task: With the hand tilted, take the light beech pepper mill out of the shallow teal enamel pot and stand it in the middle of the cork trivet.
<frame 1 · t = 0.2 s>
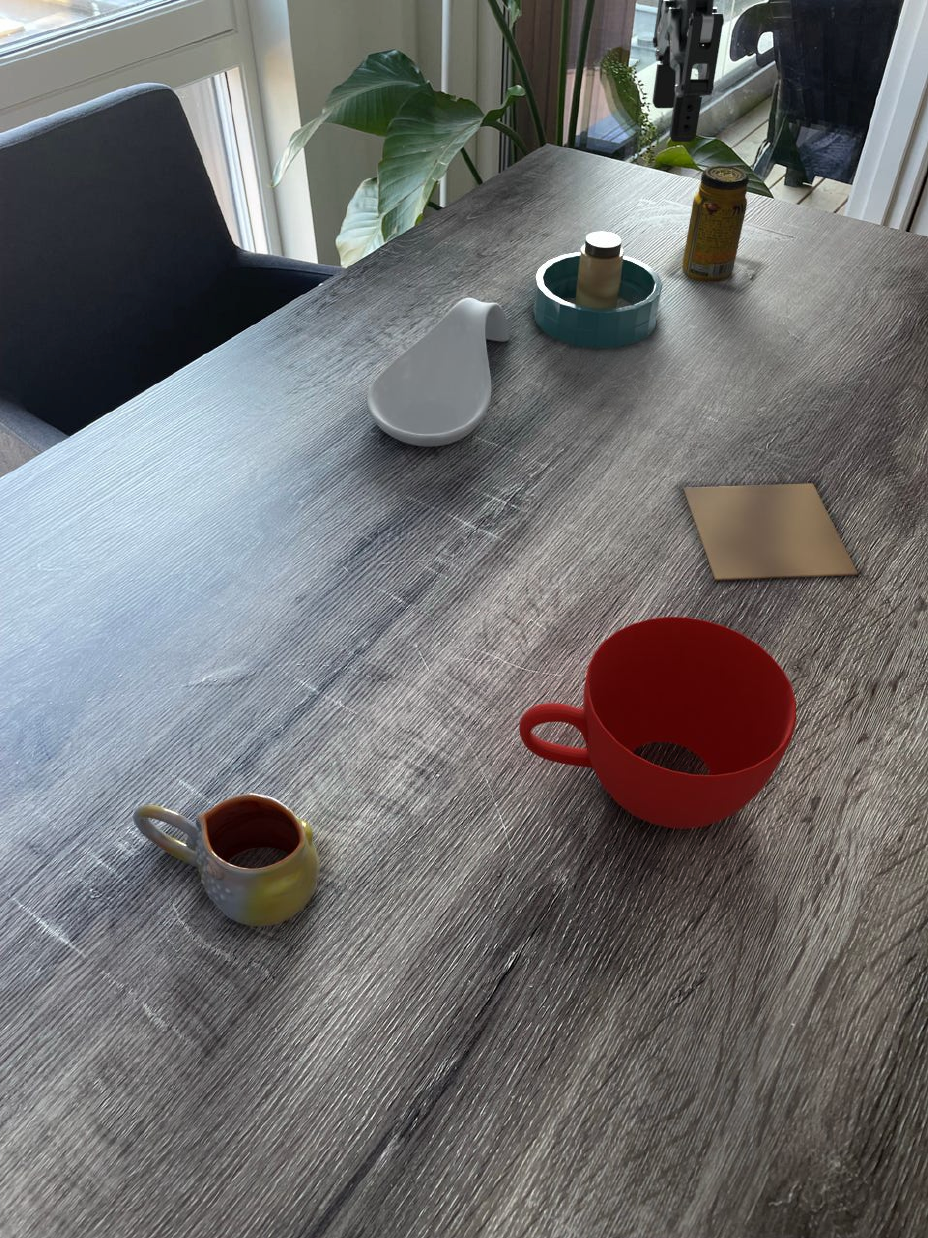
hand: (672, 122, 91), 23 cm above the table, tool pointing down, fingers open, 8 cm apart
spoon rest: (449, 398, 101), on the table
pot: (593, 322, 112), on the table
pepper mill: (594, 317, 111), point 1 cm above the table, touching pot
trivet: (764, 537, 87), on the table
condiment: (712, 278, 120), on the table
mug: (232, 874, 64), on the table
ceramic cup: (636, 787, 69), on the table
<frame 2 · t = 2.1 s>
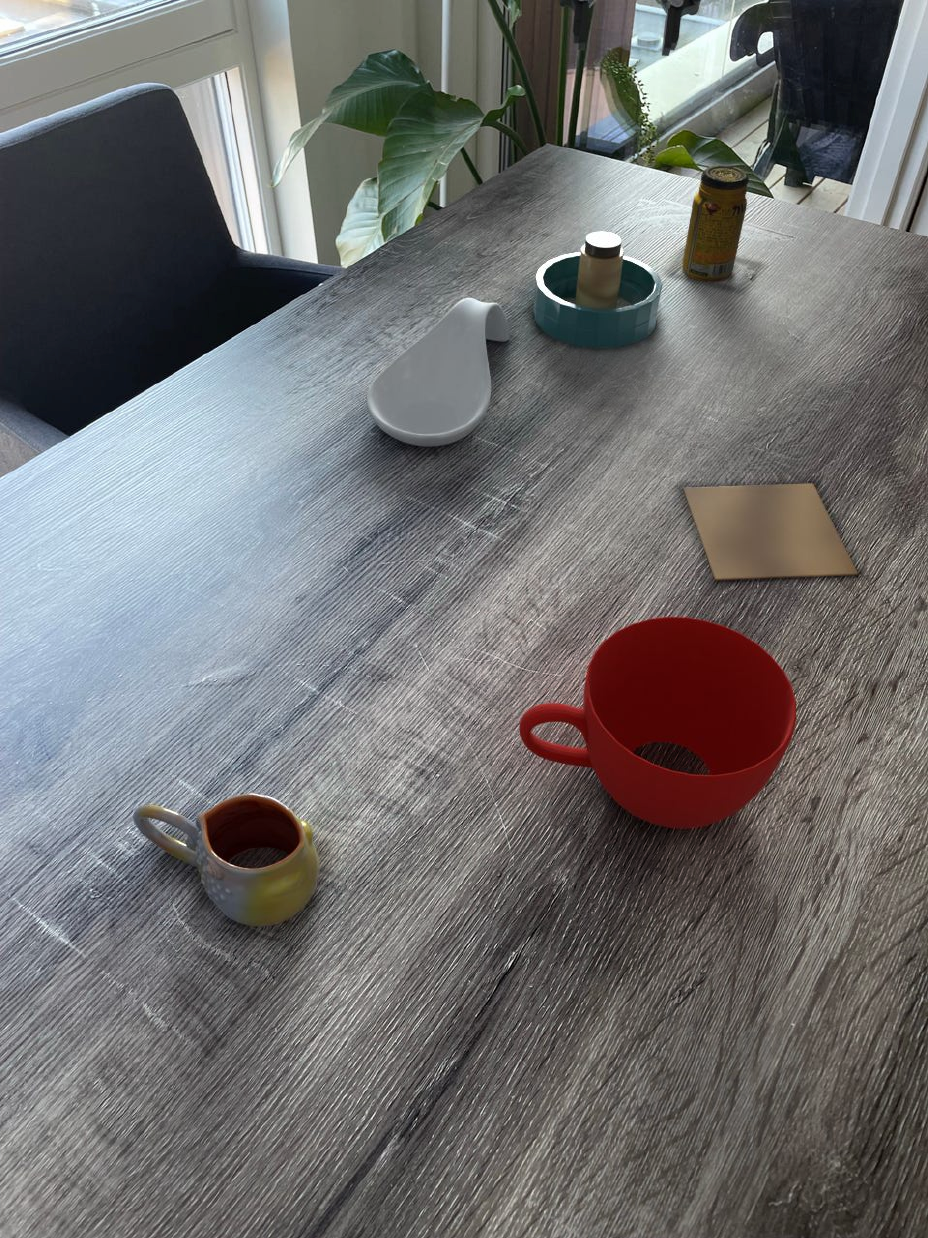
hand: (624, 48, 101), 25 cm above the table, tool tilted 45°, fingers open, 8 cm apart
nothing on the table moved.
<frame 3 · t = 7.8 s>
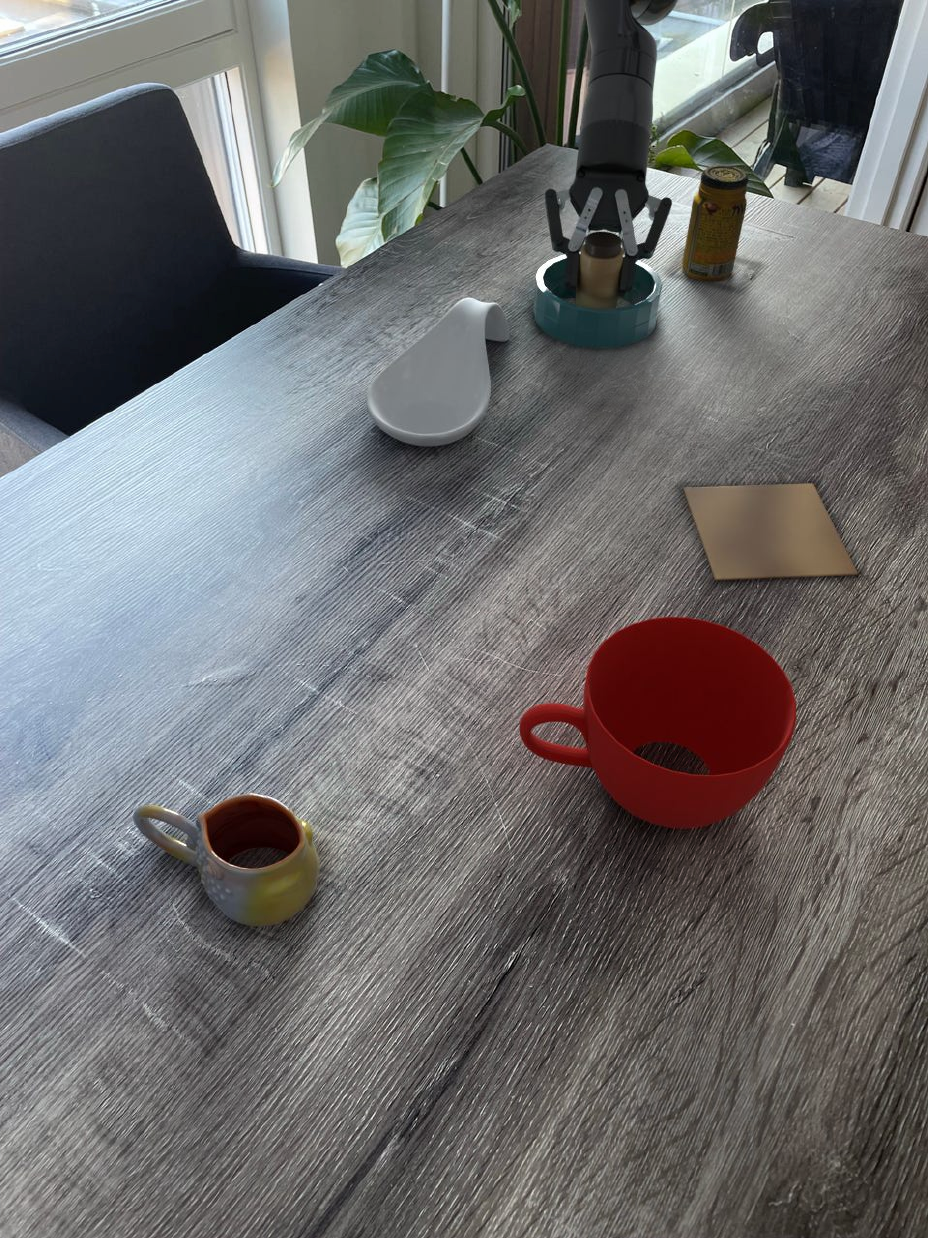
hand: (597, 292, 107), 5 cm above the table, tool tilted 45°, fingers closed on pepper mill, 4 cm apart
pepper mill: (594, 317, 111), point 1 cm above the table, touching gripper, pot
everything else where it was.
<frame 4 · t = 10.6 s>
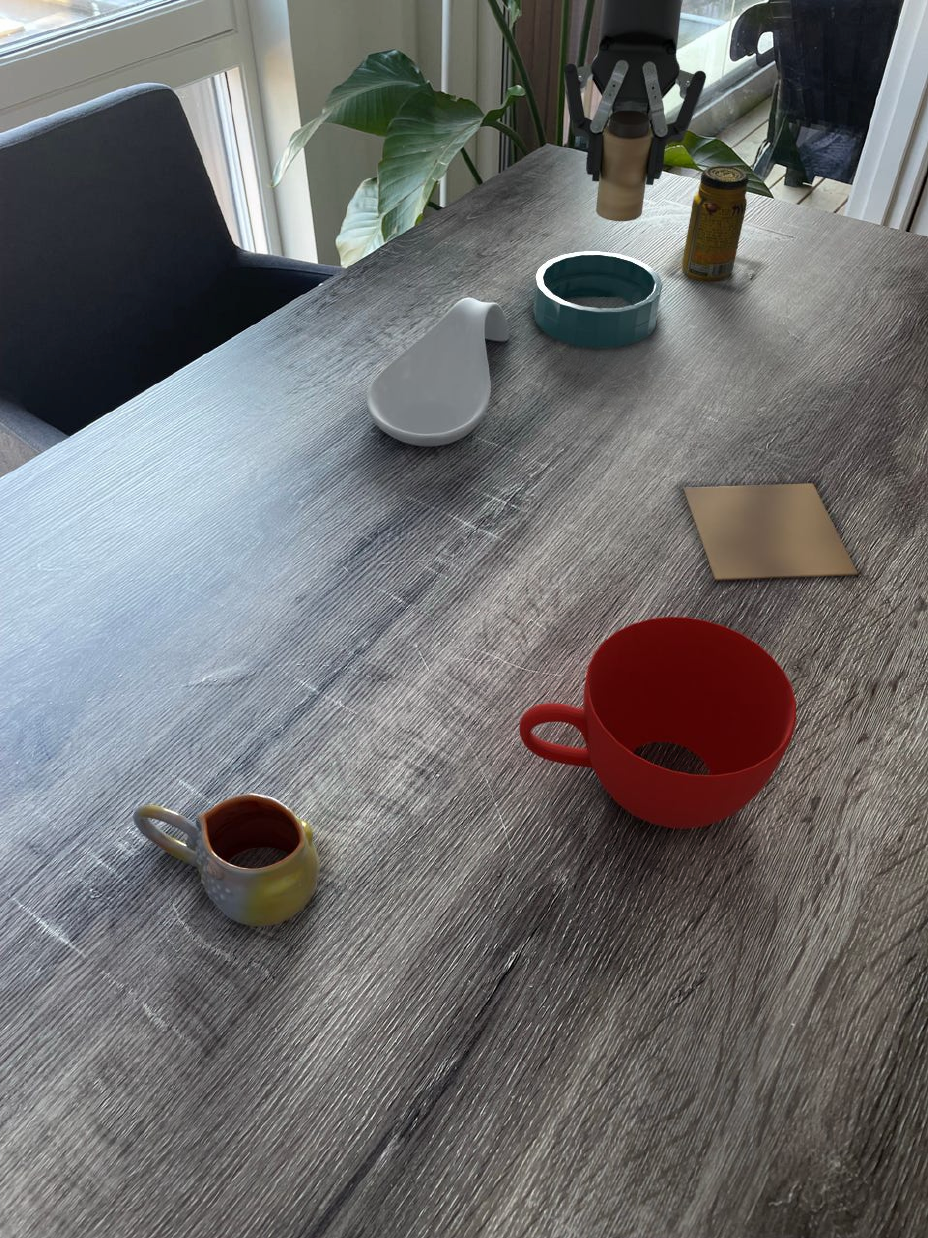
hand: (623, 178, 97), 17 cm above the table, tool tilted 45°, fingers closed on pepper mill, 4 cm apart
pepper mill: (618, 211, 101), point 13 cm above the table, touching gripper
everything else where it was.
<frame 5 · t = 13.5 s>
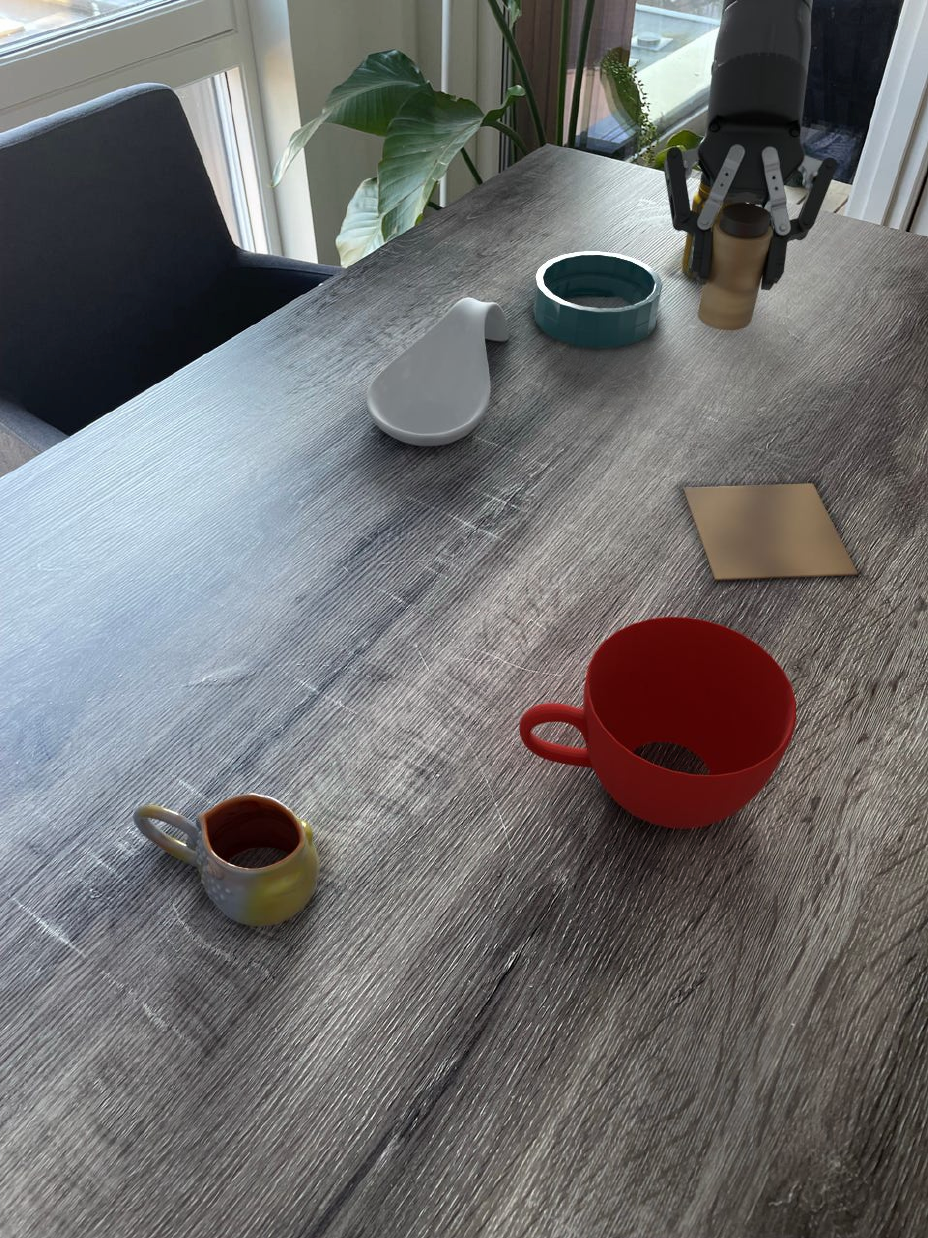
hand: (735, 283, 81), 18 cm above the table, tool tilted 45°, fingers closed on pepper mill, 4 cm apart
pepper mill: (724, 316, 86), point 14 cm above the table, touching gripper
everything else where it was.
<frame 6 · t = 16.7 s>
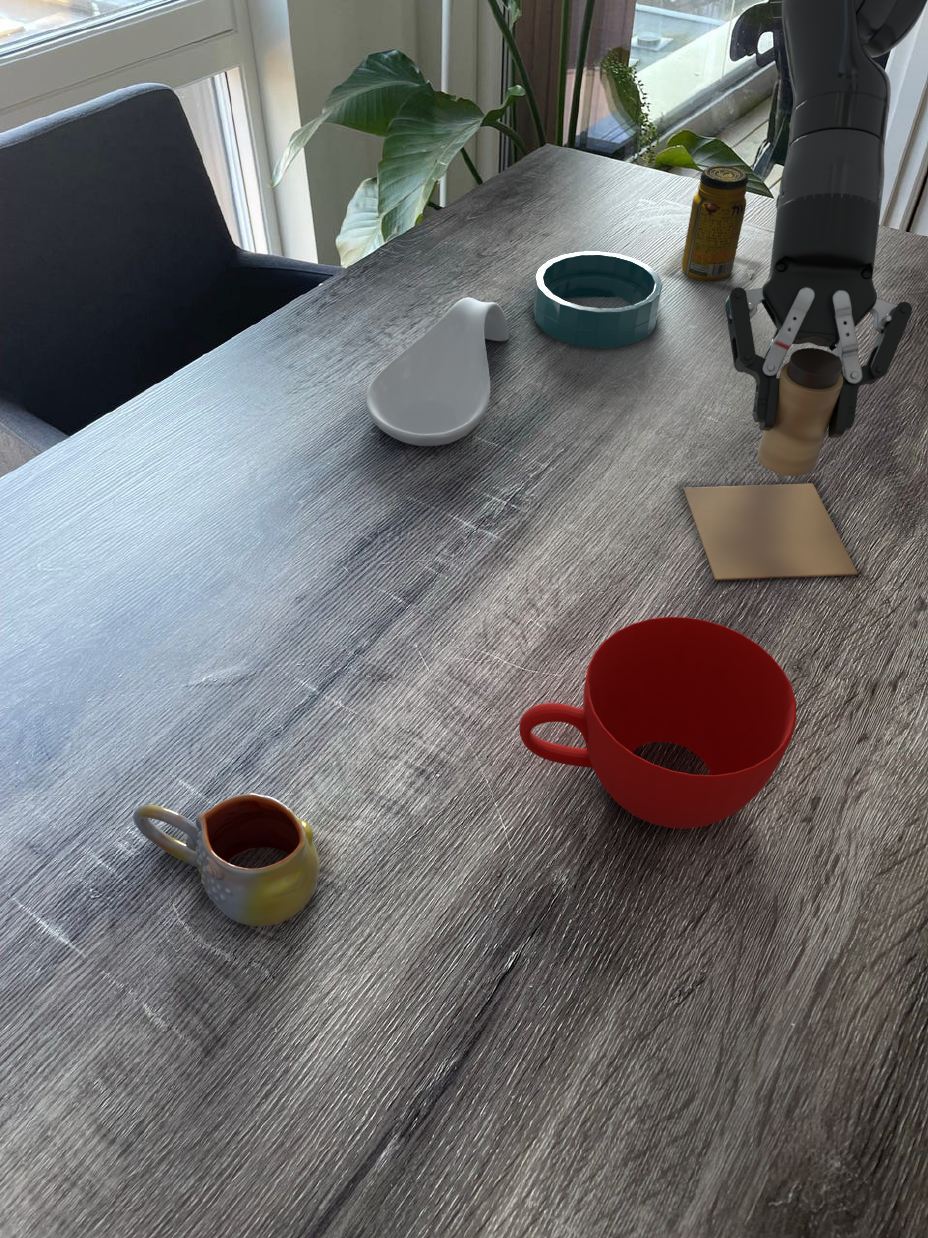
hand: (801, 431, 77), 12 cm above the table, tool tilted 45°, fingers closed on pepper mill, 4 cm apart
pepper mill: (786, 458, 81), point 8 cm above the table, touching gripper
everything else where it was.
when the fingers open (5 cm above the table, at t = 19.2 s): pepper mill stays where it is, resting on trivet.
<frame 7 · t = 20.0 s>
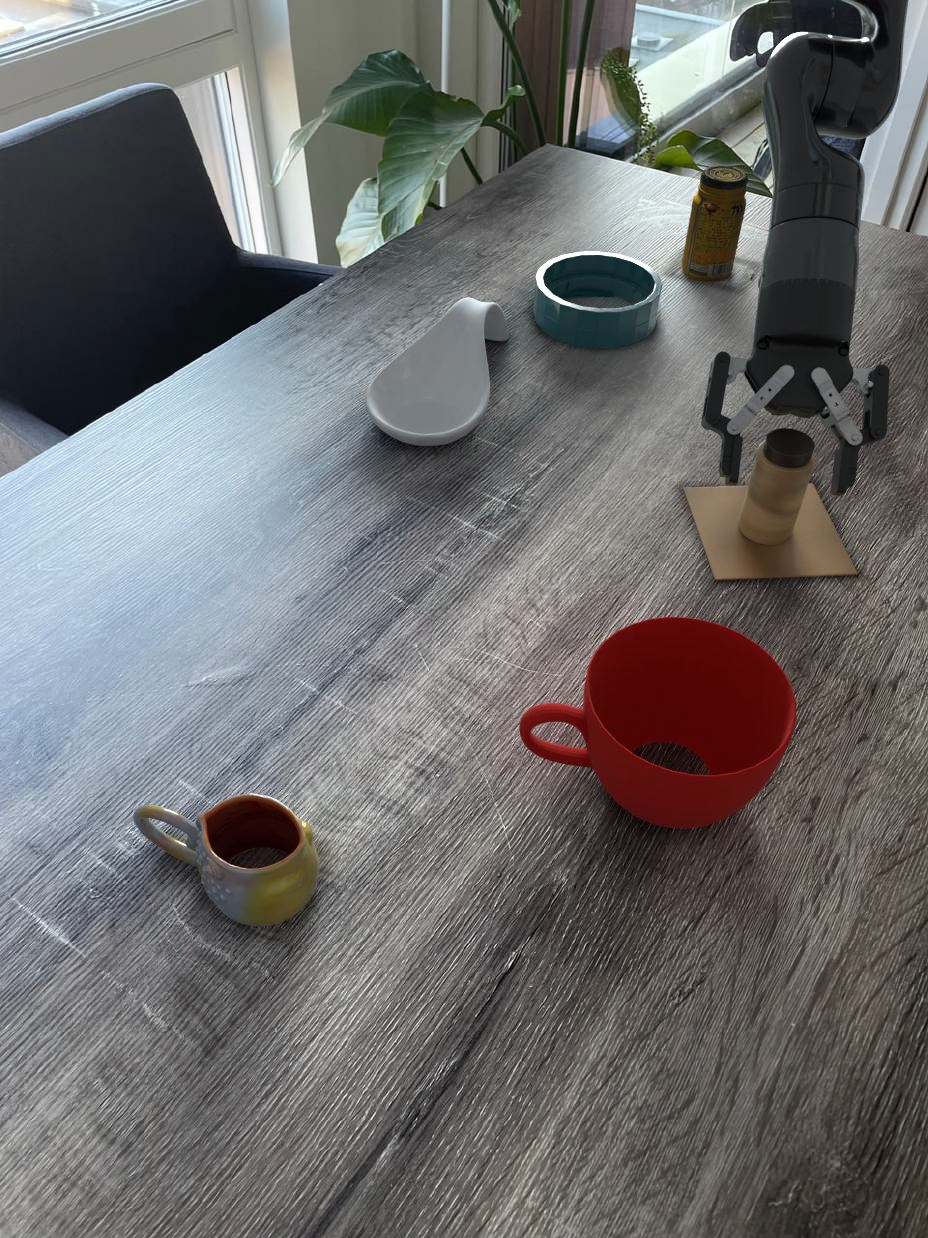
hand: (784, 489, 81), 6 cm above the table, tool tilted 45°, fingers open, 8 cm apart
pepper mill: (764, 527, 86), point 1 cm above the table, touching trivet
everything else where it was.
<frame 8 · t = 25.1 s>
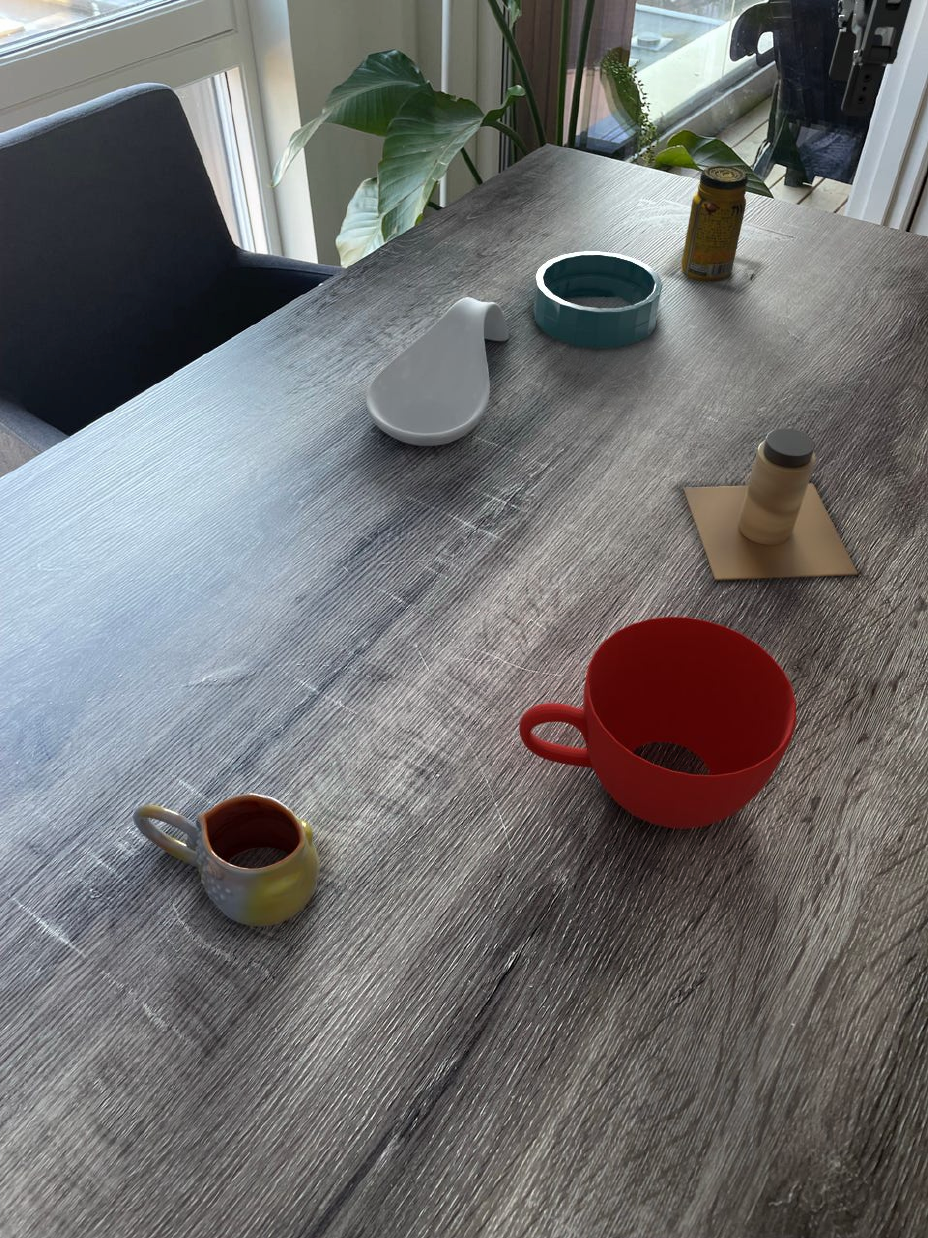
hand: (847, 96, 83), 28 cm above the table, tool pointing down, fingers open, 8 cm apart
nothing on the table moved.
at the end: pepper mill inside the target area on the trivet (0.2 cm from its centre), point 1.0 cm above the trivet's base; pepper mill tilted 0°; the gripper is holding nothing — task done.
